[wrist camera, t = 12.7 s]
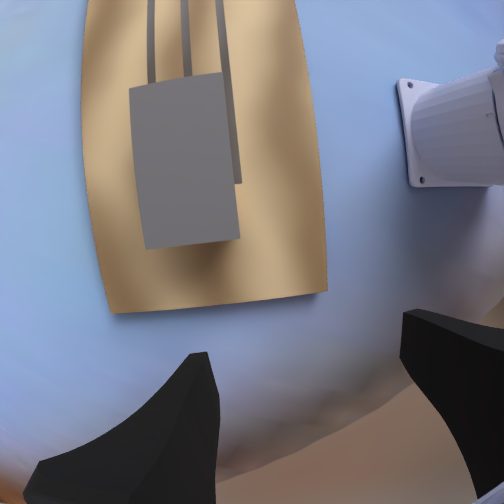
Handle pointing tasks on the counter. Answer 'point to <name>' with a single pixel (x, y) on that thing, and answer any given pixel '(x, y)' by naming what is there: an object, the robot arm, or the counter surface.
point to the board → (241, 142)
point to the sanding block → (183, 161)
